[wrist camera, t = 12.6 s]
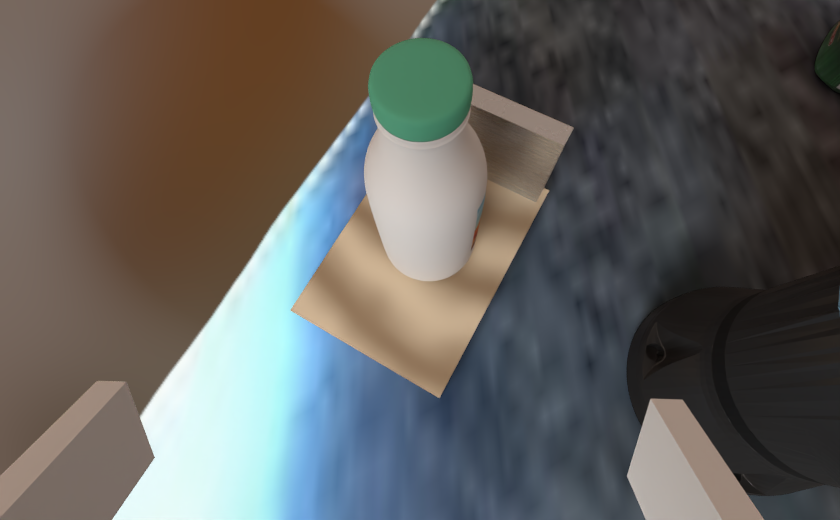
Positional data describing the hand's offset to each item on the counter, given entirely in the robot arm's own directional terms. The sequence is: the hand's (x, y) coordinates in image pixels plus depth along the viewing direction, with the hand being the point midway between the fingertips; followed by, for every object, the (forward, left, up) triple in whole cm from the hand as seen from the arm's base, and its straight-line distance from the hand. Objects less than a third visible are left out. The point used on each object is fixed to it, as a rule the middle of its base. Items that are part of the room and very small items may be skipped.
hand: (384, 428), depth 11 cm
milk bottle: (-7, -12, -24) cm, 27 cm away
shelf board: (-6, -12, -25) cm, 29 cm away
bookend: (-13, -17, -23) cm, 32 cm away
